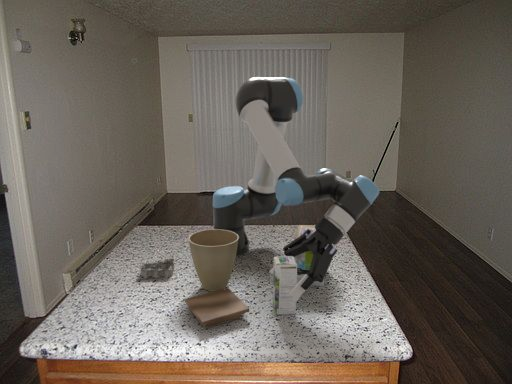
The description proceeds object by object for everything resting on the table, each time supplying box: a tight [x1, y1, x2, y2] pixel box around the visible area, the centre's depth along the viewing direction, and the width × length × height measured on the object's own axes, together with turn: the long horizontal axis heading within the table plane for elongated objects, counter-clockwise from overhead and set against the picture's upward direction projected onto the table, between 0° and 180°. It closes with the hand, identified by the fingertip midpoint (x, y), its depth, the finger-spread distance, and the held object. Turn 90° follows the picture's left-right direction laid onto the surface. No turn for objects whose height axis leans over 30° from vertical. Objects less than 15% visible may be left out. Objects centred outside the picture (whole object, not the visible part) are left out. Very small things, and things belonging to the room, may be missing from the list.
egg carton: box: [139, 257, 175, 279], centre depth 130 cm, size 11×8×4 cm
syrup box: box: [272, 255, 297, 316], centre depth 106 cm, size 6×6×14 cm
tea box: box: [294, 224, 326, 287], centre depth 127 cm, size 15×10×15 cm
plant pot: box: [187, 228, 239, 292], centre depth 120 cm, size 15×15×16 cm
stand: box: [184, 287, 250, 329], centre depth 105 cm, size 13×13×3 cm
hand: (282, 285), depth 105 cm, fingers open, 13 cm apart
